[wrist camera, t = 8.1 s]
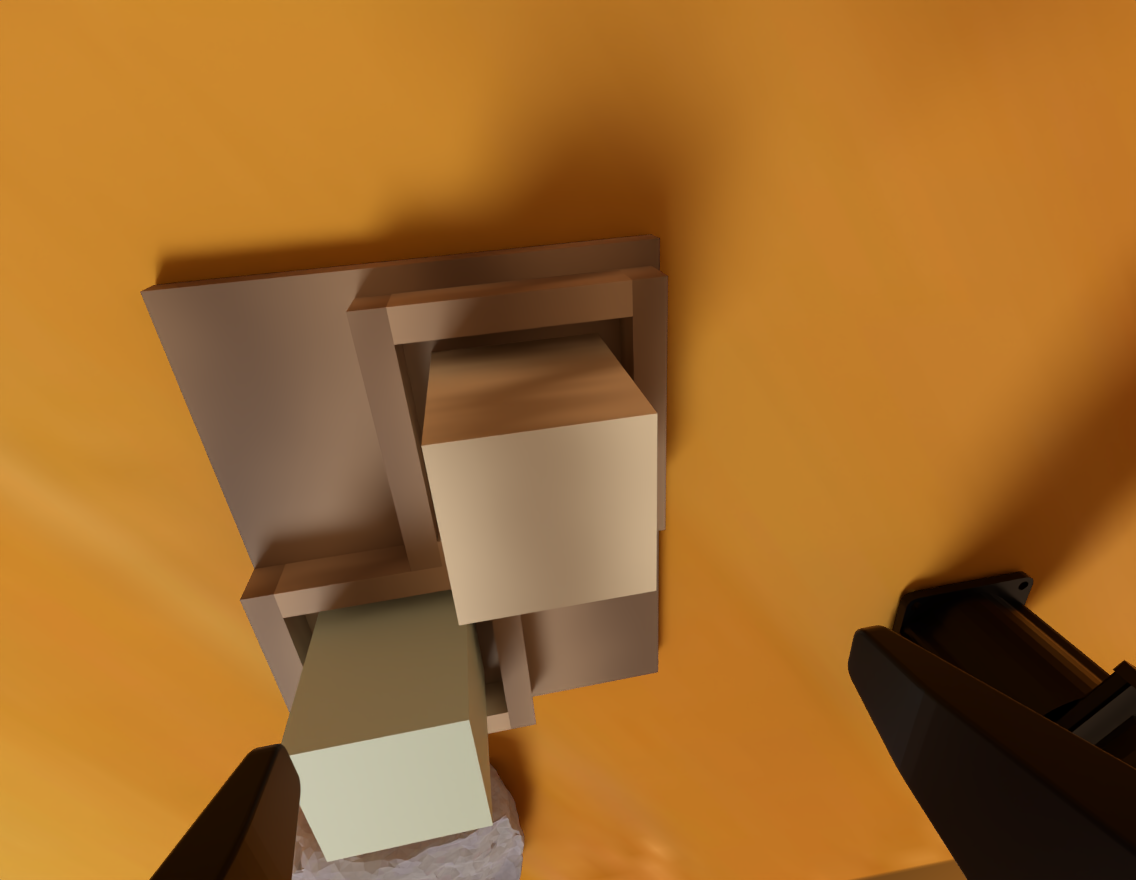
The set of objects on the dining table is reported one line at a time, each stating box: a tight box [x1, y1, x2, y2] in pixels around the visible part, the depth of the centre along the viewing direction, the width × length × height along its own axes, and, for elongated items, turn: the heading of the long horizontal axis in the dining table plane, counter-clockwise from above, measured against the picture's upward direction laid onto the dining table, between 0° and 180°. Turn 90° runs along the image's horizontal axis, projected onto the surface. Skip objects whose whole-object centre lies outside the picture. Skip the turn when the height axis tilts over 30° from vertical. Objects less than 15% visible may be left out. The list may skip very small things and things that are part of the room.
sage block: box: [281, 589, 493, 862], centre depth 19 cm, size 5×5×6 cm
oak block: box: [421, 333, 657, 625], centre depth 16 cm, size 5×5×6 cm
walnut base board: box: [141, 234, 668, 734], centre depth 20 cm, size 14×18×2 cm
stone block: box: [292, 764, 524, 880], centre depth 28 cm, size 12×5×10 cm
